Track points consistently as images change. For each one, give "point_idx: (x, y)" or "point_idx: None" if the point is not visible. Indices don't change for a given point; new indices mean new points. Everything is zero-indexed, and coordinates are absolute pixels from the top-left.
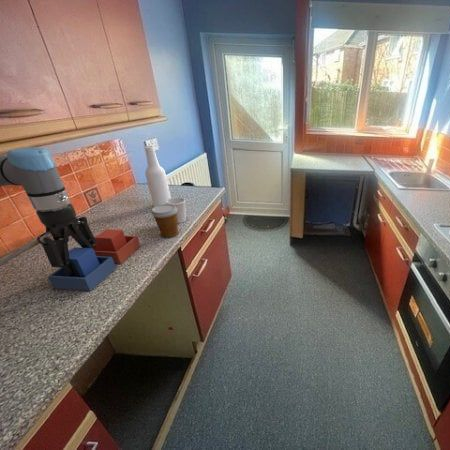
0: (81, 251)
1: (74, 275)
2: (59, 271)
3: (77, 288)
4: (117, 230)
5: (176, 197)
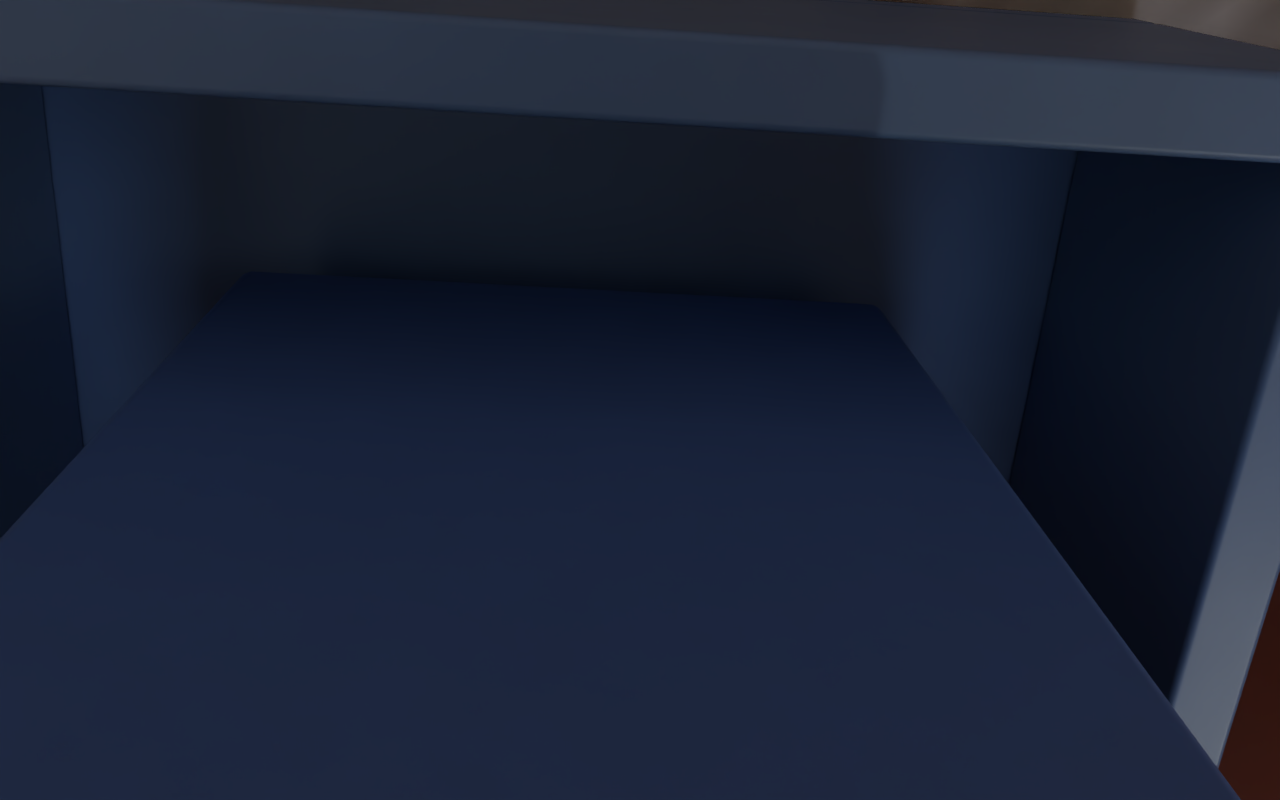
0: None
1: None
2: (196, 90)
3: None
4: None
5: None
